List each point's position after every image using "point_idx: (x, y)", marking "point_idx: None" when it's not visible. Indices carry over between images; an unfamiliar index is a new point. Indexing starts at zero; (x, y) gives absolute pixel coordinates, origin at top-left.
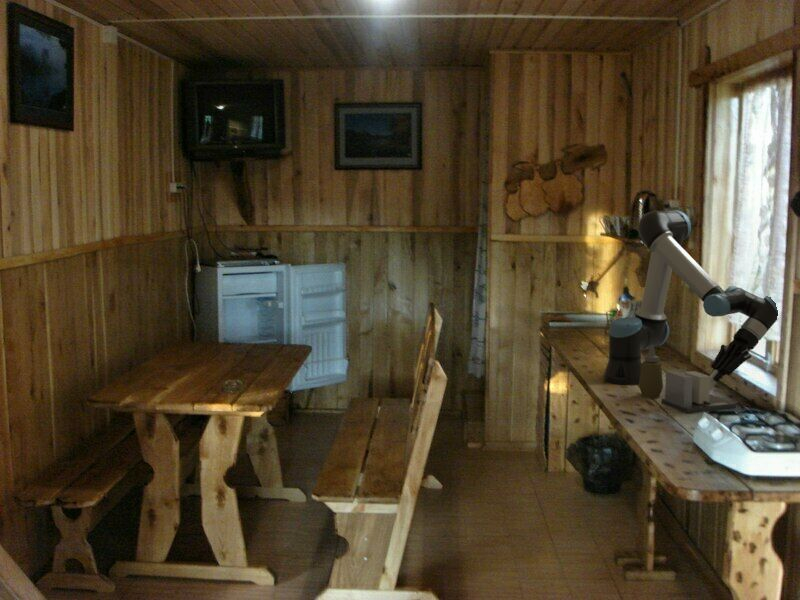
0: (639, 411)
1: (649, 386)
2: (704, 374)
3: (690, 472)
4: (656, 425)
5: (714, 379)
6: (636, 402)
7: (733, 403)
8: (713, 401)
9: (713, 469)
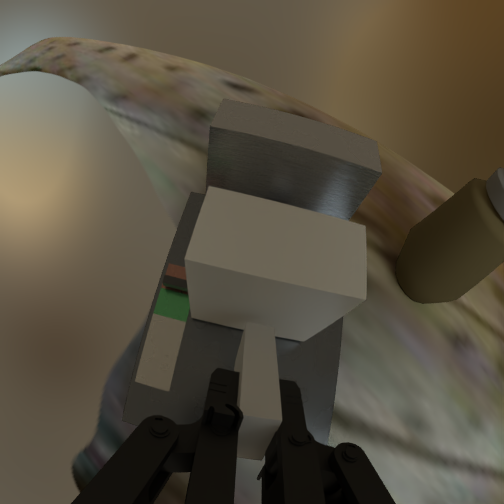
0: None
1: (417, 224)
2: (251, 273)
3: (47, 50)
4: (178, 94)
5: (224, 372)
6: (371, 193)
7: (131, 412)
8: (208, 369)
9: (27, 66)
